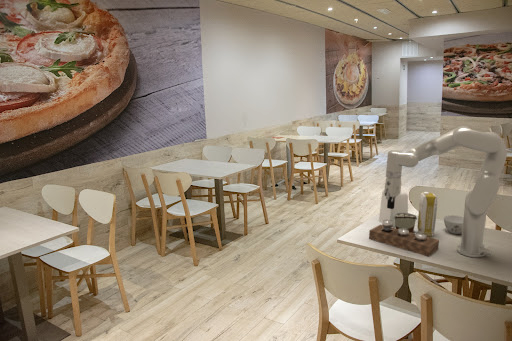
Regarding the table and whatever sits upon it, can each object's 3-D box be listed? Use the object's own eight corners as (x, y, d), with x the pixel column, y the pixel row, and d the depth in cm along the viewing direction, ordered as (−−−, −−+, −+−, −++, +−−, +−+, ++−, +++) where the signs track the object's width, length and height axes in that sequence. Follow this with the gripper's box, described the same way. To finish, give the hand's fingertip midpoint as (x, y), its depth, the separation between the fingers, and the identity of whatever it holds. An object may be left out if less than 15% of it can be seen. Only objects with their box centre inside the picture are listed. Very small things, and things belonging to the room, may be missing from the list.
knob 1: (393, 232, 216) (394, 221, 215) (389, 235, 213) (389, 223, 211) (384, 230, 220) (385, 218, 219) (380, 232, 216) (380, 221, 215)
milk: (389, 227, 235) (392, 184, 229) (378, 220, 246) (381, 179, 240) (407, 225, 238) (411, 182, 232) (396, 219, 248) (399, 178, 243)
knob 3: (427, 246, 205) (428, 234, 203) (422, 249, 201) (423, 237, 200) (416, 243, 208) (417, 231, 207) (412, 246, 205) (413, 234, 203)
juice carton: (416, 230, 230) (419, 189, 224) (430, 231, 228) (434, 190, 223) (419, 236, 221) (423, 194, 215) (435, 237, 219) (439, 195, 214)
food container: (412, 229, 232) (414, 212, 229) (415, 233, 226) (417, 216, 223) (390, 228, 233) (391, 212, 231) (393, 232, 227) (394, 215, 225)
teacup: (439, 232, 226) (441, 219, 224) (445, 226, 235) (447, 213, 234) (469, 239, 217) (471, 225, 215) (474, 232, 226) (476, 219, 224)
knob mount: (438, 249, 204) (439, 239, 203) (428, 256, 196) (429, 246, 195) (379, 232, 226) (380, 224, 225) (368, 238, 218) (369, 230, 217)
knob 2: (409, 241, 211) (410, 229, 209) (405, 244, 207) (406, 232, 206) (400, 238, 214) (401, 227, 213) (395, 241, 211) (396, 229, 209)
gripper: (393, 178, 201) (390, 213, 205) (406, 173, 211) (403, 206, 215) (379, 175, 206) (377, 209, 210) (393, 170, 216) (390, 203, 220)
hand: (390, 208), depth 212 cm, fingers closed
